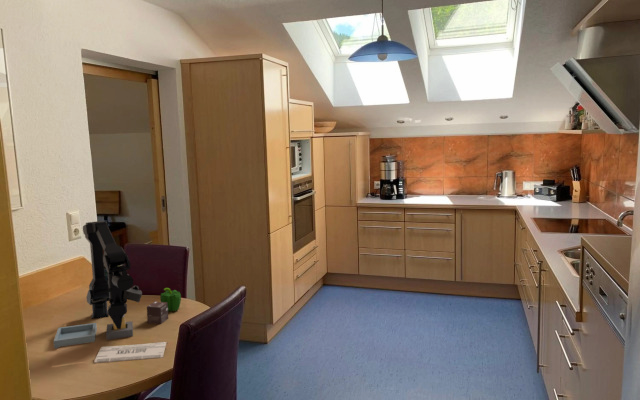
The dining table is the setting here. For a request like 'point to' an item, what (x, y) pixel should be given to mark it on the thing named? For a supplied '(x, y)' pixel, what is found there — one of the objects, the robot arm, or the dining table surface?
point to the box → (157, 312)
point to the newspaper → (130, 352)
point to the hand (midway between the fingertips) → (119, 324)
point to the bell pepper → (171, 299)
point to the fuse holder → (119, 331)
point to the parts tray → (75, 335)
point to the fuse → (121, 324)
